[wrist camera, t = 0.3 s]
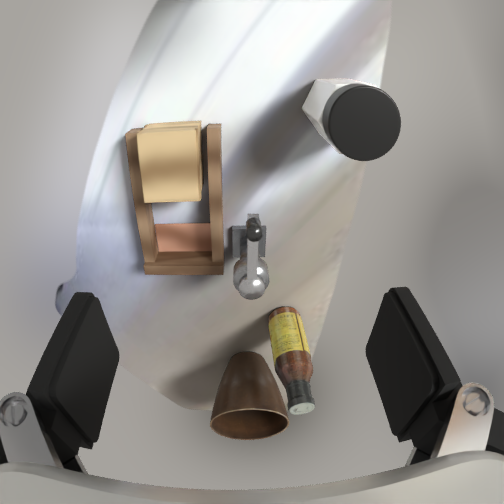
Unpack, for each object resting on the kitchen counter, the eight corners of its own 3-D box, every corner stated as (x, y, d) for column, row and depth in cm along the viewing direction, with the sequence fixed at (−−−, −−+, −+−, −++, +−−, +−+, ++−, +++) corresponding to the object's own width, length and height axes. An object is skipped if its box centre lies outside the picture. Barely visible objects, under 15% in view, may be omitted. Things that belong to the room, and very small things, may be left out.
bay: (132, 128, 39) (122, 135, 36) (221, 123, 39) (219, 129, 36) (150, 259, 51) (145, 274, 48) (224, 259, 51) (223, 274, 48)
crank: (238, 211, 35) (238, 228, 32) (267, 211, 35) (270, 228, 32) (238, 292, 42) (239, 312, 39) (263, 292, 42) (265, 311, 39)
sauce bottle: (261, 320, 60) (268, 413, 43) (281, 299, 57) (296, 395, 40) (287, 332, 62) (301, 421, 45) (308, 313, 59) (329, 404, 43)
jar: (344, 146, 42) (377, 177, 32) (293, 122, 40) (312, 145, 30) (373, 93, 37) (415, 107, 27) (321, 64, 35) (352, 67, 25)
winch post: (232, 225, 48) (231, 265, 40) (265, 225, 48) (271, 265, 40) (232, 253, 51) (232, 296, 43) (264, 253, 51) (269, 295, 43)
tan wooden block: (148, 123, 39) (134, 133, 34) (202, 119, 39) (197, 129, 34) (154, 185, 44) (143, 203, 39) (204, 183, 44) (200, 201, 39)
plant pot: (275, 380, 72) (281, 440, 59) (211, 378, 70) (209, 439, 57) (287, 341, 64) (297, 408, 50) (213, 338, 62) (210, 407, 49)
